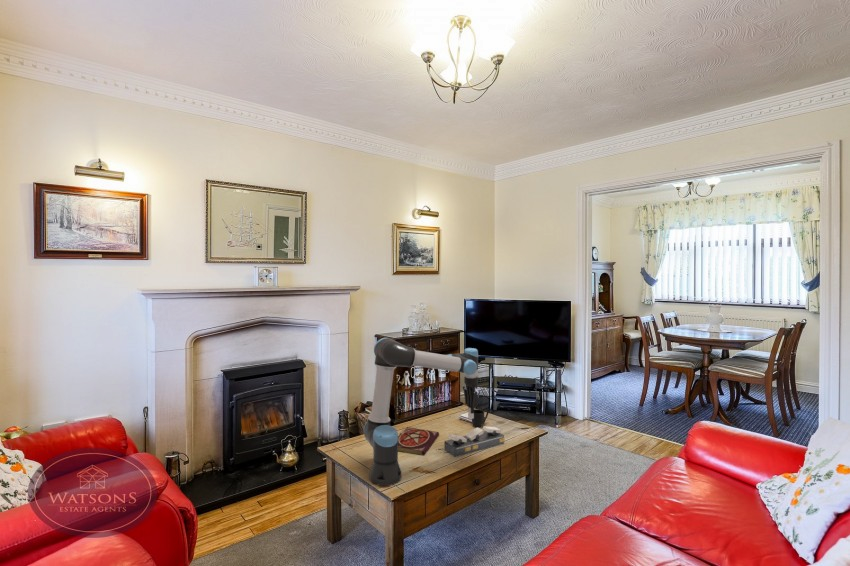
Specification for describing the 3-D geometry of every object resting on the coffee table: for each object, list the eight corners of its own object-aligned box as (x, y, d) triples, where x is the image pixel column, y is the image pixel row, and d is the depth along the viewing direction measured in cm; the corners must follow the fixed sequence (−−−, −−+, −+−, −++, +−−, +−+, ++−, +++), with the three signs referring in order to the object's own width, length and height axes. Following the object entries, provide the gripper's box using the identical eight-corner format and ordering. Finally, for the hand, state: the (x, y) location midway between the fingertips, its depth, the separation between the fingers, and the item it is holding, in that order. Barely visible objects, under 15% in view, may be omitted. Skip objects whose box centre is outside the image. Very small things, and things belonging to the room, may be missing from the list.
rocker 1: (452, 442, 226) (454, 436, 226) (447, 439, 231) (449, 433, 231) (465, 445, 230) (467, 439, 231) (460, 441, 235) (461, 436, 235)
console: (454, 457, 224) (455, 447, 224) (444, 449, 233) (444, 441, 233) (504, 443, 241) (504, 435, 241) (493, 437, 250) (493, 429, 250)
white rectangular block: (471, 443, 233) (470, 438, 232) (466, 439, 237) (465, 434, 237) (484, 435, 237) (483, 430, 236) (478, 432, 241) (477, 427, 241)
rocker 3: (488, 434, 238) (489, 429, 238) (482, 431, 243) (483, 426, 243) (499, 435, 243) (501, 430, 243) (494, 432, 247) (495, 427, 247)
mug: (491, 426, 267) (491, 411, 267) (475, 429, 262) (475, 414, 262) (484, 422, 275) (484, 407, 274) (468, 425, 270) (468, 410, 269)
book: (424, 457, 226) (424, 448, 226) (387, 451, 232) (388, 442, 232) (438, 437, 253) (439, 429, 253) (406, 432, 259) (406, 424, 259)
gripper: (483, 378, 230) (483, 420, 231) (469, 373, 241) (469, 413, 242) (472, 380, 226) (472, 423, 227) (458, 374, 238) (458, 416, 239)
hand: (471, 418), depth 235 cm, fingers closed
